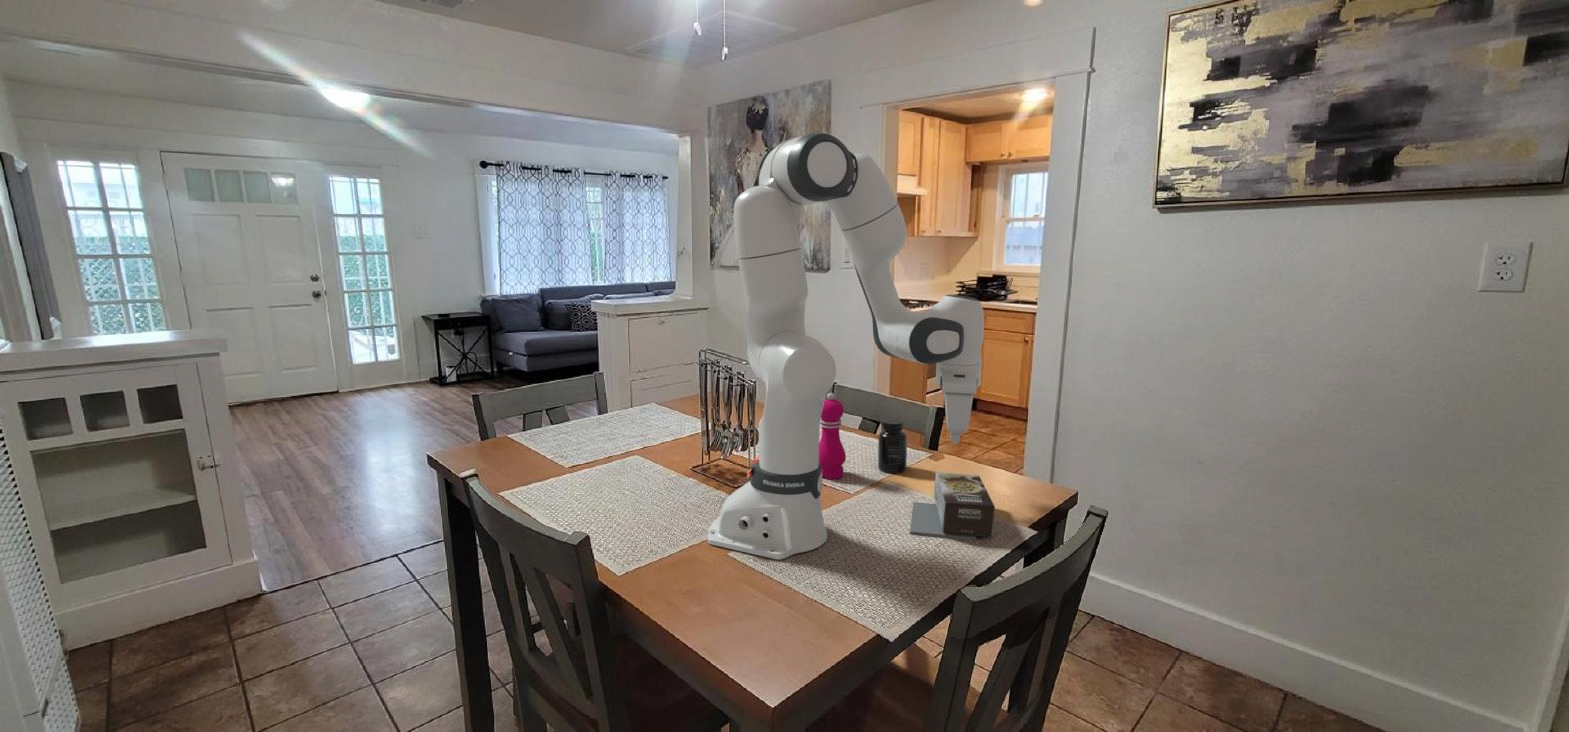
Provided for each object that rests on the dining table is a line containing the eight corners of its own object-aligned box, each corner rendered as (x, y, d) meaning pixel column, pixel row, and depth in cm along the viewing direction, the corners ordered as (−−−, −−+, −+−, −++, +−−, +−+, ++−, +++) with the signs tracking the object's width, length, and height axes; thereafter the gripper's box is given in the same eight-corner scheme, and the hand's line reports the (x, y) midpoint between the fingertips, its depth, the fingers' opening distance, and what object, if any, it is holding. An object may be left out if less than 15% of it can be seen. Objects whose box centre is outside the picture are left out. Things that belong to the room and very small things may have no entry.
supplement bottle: (910, 467, 153) (912, 420, 151) (899, 476, 147) (901, 427, 145) (884, 462, 157) (885, 416, 154) (873, 470, 151) (874, 422, 149)
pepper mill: (810, 471, 151) (810, 390, 147) (838, 467, 153) (839, 388, 149) (821, 481, 144) (821, 397, 140) (850, 478, 146) (851, 395, 142)
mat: (909, 533, 118) (910, 531, 118) (913, 504, 132) (913, 501, 131) (976, 540, 115) (976, 538, 115) (972, 509, 129) (972, 507, 129)
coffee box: (979, 473, 130) (996, 505, 114) (977, 502, 131) (993, 538, 115) (935, 470, 131) (945, 502, 115) (932, 499, 132) (943, 534, 116)
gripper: (942, 365, 136) (939, 426, 139) (942, 385, 117) (938, 456, 119) (972, 366, 135) (968, 428, 137) (977, 387, 115) (973, 458, 118)
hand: (954, 441), depth 128 cm, fingers closed
